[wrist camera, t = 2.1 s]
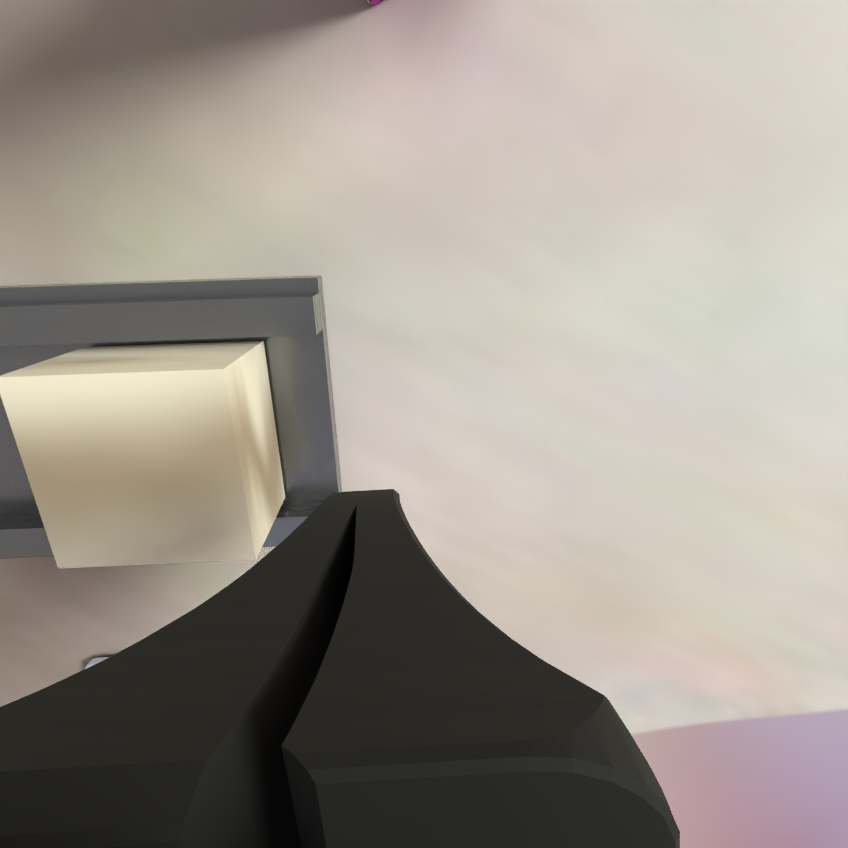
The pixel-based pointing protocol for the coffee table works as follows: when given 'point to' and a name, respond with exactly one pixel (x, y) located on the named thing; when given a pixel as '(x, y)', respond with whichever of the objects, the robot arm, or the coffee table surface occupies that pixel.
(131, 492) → the block
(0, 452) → the chute
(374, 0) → the candy bar box
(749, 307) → the coffee table surface
